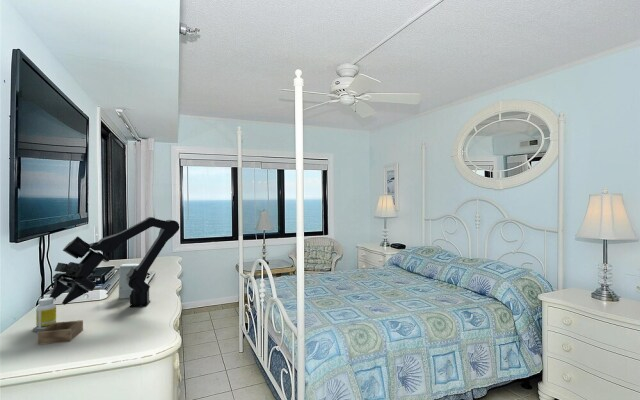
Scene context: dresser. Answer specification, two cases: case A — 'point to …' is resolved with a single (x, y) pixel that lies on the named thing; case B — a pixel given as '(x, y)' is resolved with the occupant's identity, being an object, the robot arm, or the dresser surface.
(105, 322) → the dresser surface
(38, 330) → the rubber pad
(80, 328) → the wooden tray
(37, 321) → the supplement bottle
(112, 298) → the dresser surface
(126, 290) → the skincare box
